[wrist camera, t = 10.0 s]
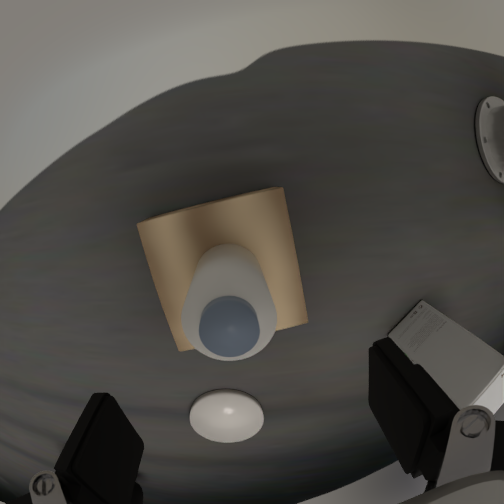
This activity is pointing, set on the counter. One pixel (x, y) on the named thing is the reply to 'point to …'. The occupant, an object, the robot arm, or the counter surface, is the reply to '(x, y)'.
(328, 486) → the counter surface
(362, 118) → the counter surface
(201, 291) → the reagent bottle
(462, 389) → the skincare box
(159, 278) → the oak slab
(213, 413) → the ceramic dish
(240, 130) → the counter surface
